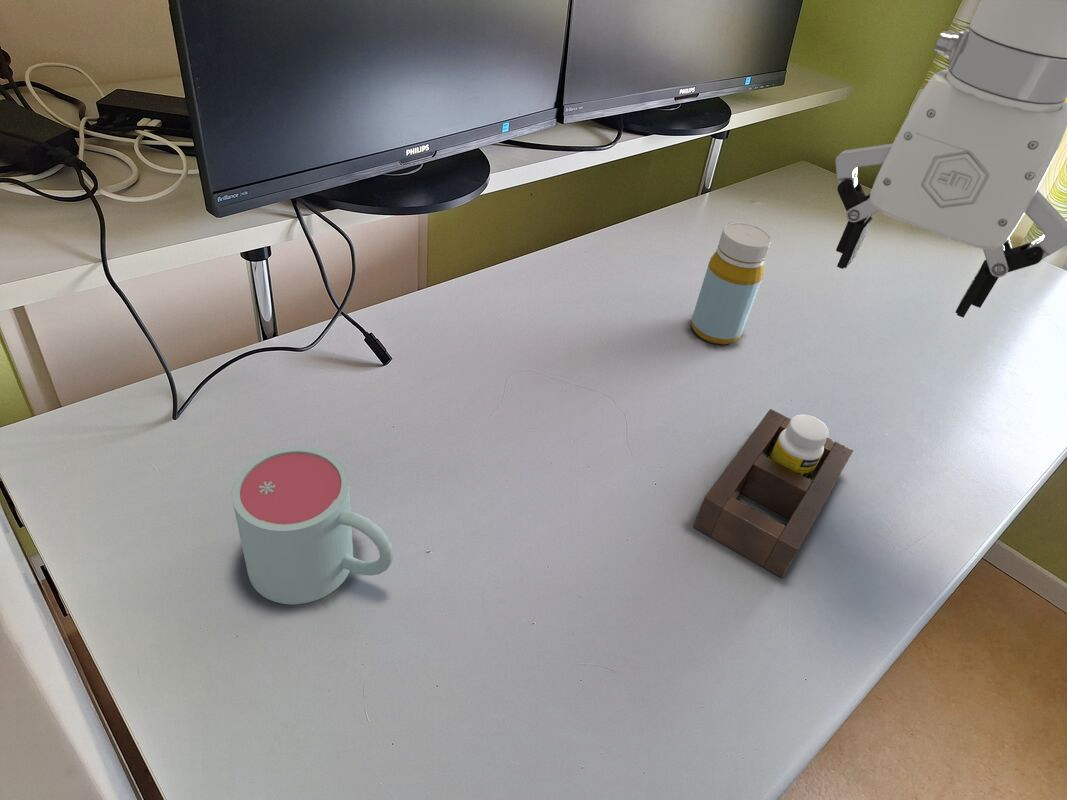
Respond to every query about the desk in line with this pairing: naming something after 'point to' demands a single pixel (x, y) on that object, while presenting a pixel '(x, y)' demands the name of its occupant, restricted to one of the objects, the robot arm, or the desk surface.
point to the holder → (768, 498)
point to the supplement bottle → (801, 444)
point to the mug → (300, 525)
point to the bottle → (731, 283)
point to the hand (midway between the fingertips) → (902, 285)
